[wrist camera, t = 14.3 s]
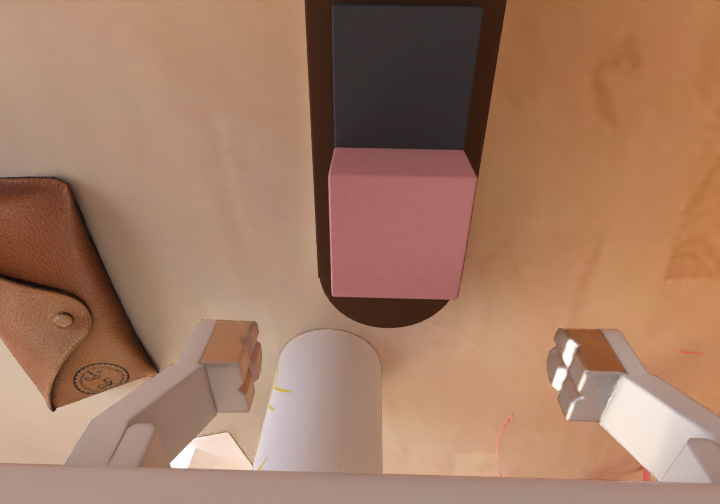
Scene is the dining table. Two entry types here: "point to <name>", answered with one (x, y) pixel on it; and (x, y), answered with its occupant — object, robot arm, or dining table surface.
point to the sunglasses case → (60, 297)
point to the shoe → (322, 137)
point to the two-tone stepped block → (401, 148)
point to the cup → (324, 407)
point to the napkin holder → (212, 454)
